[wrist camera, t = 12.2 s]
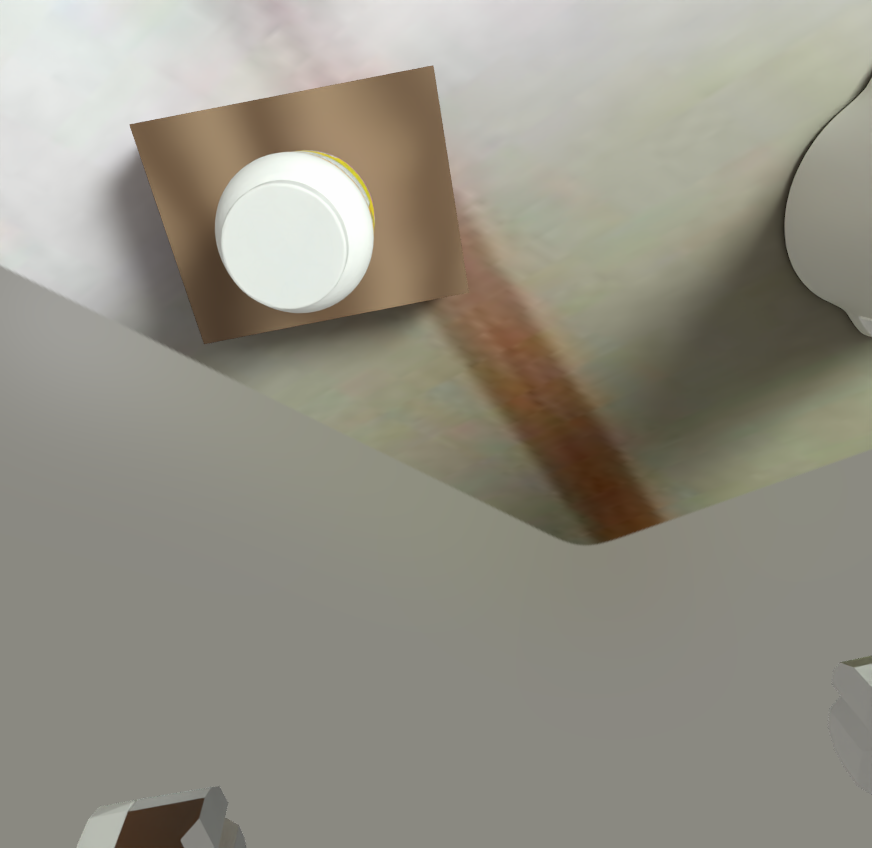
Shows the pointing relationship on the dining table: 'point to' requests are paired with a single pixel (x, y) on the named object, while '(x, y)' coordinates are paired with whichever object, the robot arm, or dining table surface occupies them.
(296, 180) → the supplement bottle
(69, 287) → the dining table surface
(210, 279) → the walnut stand
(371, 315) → the dining table surface
